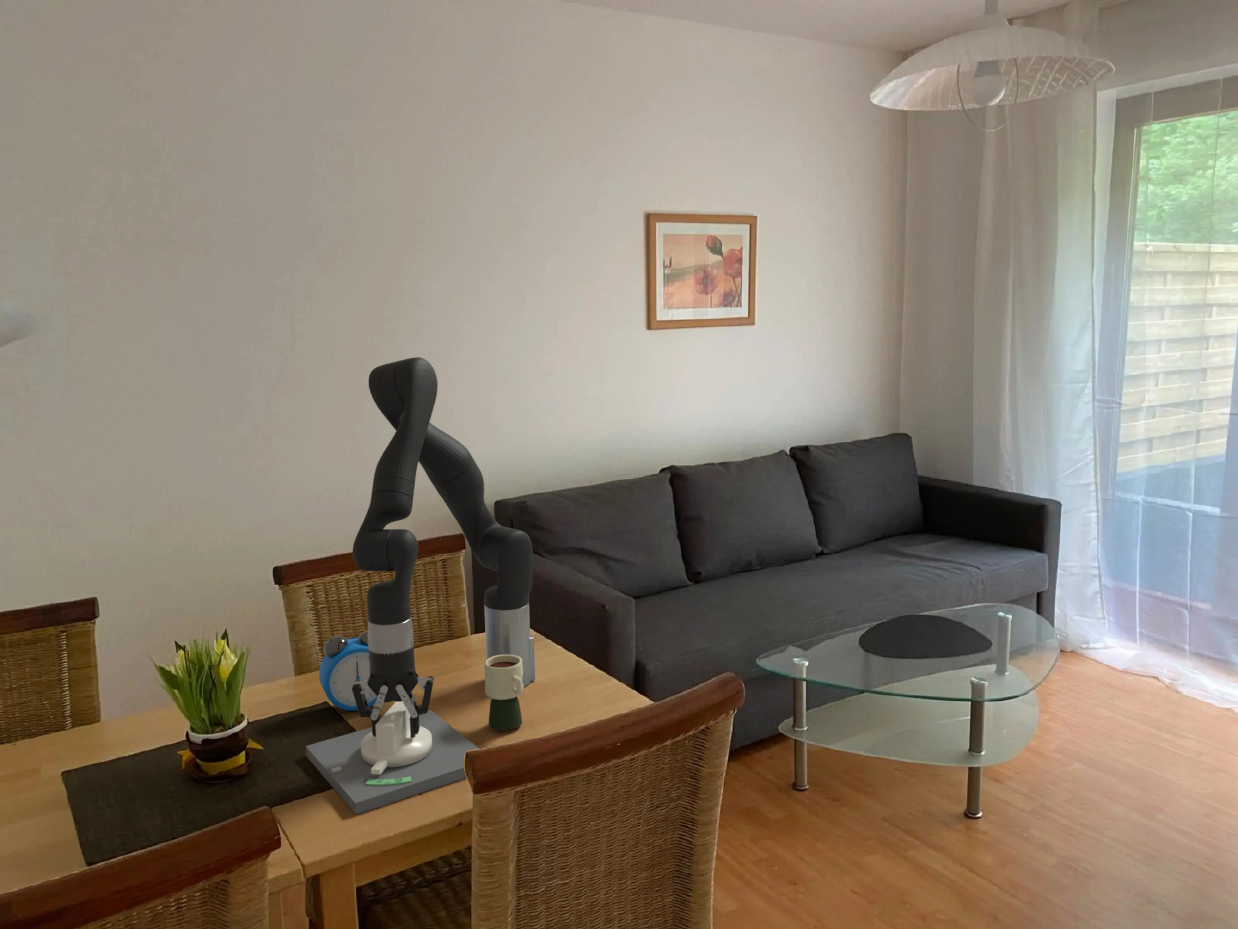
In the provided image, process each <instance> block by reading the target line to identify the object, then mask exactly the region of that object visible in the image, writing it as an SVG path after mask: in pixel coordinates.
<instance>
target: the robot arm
mask: <svg viewBox="0 0 1238 929" xmlns="http://www.w3.org/2000/svg"><path fill="white" fill-rule="evenodd" d="M367 381H368V389H369V392H370V395H371V398H372V399H373V400H372V401H374V403H375V406H377V408H378V410H379V411H380V413H381V414H382V415H383V416H384V418H385V419H386V420H387V421H388V423H389V424H390V425H391V426H392V428H393V429H394V430H395V433H394V435H393V436H392V438H391V439H390V441H389V443H388V444H387V446H386V448H384V451H383V452H382V454H381V456H380V457H379V460H378V462H377V465H376V467H375V471H374V474H373V481H372V487H371V488H372V489H371V495H370V502H369V505H368V509H367V511H366V514H365V517H364V519H363V520H362V523H361V525H360V528H359V529H358V532H357V534H356V536H355V538H354V541H353V546H352V559H353V561H354V563H355V566H356V567H357V568H358V569H359V570H361V571H364V572H395V573H394V578H393V579H391V580H386V581H383V582H379V583H375V584H373V585H371V586H370V587H369V588H368V590H367V593H366V603H367V614H368V615H367V617H368V618H367V619H368V621H367V622H368V624H367V625H368V626H367V631H368V640H367V643H368V648H369V664H370V676H369V679H368V680H364V681H360V680H356V681H355V682H354V684H353V687H352V691H353V695H354V698H355V701H356V704H357V708H358V711H357V712H358V714H359V716H360V717H361V718H368V719H370V720H371V727H372V734H373V736H374V737H376V726H375V725H376V724H377V723H378V722H379V720H380V719H381V718H382V714H380V712H381V709H382V707H383V704H384V703H391V702H396V701H397V702H402V701H403V703H404V705H405V707H406V708H407V710H408V712H409V714H410V735H411V738H415V735H416V734H418V732H419V728H420V726H419V715H421V714H426V713H427V712H428V711H429V709H430V708H429V707H430V703H431V698H432V692H433V687H434V681H435V678H434V677H433V676H431V675H429V676H427V677H422V676H419V674H418V672H416V662H415V661H416V660H415V644H414V643H415V642H414V628H413V627H414V626H413V622H412V617H411V615H412V614H411V596H410V595H411V586H412V581H413V580H412V579H413V574H414V569H415V567H416V566H415V565H416V562H417V558H418V554H419V543H418V539H417V537H416V536H415V534H414V533H413V532H412V531H411V530H409V529H406V528H405V529H403V528H398V529H397V528H396V529H395V528H393V529H391V528H390V529H388V528H387V529H385V528H386V526H388V525H389V524H391V523H394V522H399V521H403V520H404V519H405V520H406V519H408V518H409V517H410V515H411V514H412V511H413V502H414V495H415V486H416V478H417V471H418V465H420V466H421V467H422V469H423V470H424V472H425V474H426V476H427V478H428V479H429V481H430V483H431V484H432V485H433V487H434V488H435V489H434V490H436V492H437V493H438V495H439V496H440V498H441V499H442V500H443V502H444V503H445V504H446V505H445V506H447V508H448V510H449V511H450V513H451V515H452V516H453V517H454V519H455V520H456V522H457V523H458V525H459V527H460V529H461V531H462V534H463V535H464V538H465V540H466V541H467V544H468V545H469V547H470V550H471V551H472V554H473V555H474V557H475V559H476V560H477V562H478V563H479V565H481V566H482V567H483V568H485V569H489V570H490V571H495V572H497V585H493V586H490V587H489V588H487V589H486V590H485V591H484V596H483V602H484V603H483V604H484V628H485V630H484V631H485V653H486V654H485V655H486V660H487V659H488V658H490V657H493V656H497V655H515V656H518V657H520V658H521V659H522V667H523V677H522V683H523V686H524V687H526V686H528V685H529V684H531V681H532V682H534V681H536V665H535V663H536V662H535V660H536V659H535V639H534V638H535V637H533V636H532V635H531V629H530V627H531V626H530V624H531V622H530V594H531V590H532V588H533V566H534V549H533V544H532V540H531V537H530V536H529V535H528V534H527V533H526V532H525V531H523V530H520V529H515V528H511V527H507V526H502V525H501V524H499V523H498V522H497V520H496V519H495V518H494V516H493V515H492V514H491V512H490V510H489V508H488V507H487V504H486V502H485V481H484V477H483V473H482V472H481V469H480V467H479V465H478V464H477V462H476V460H475V459H474V458H473V455H472V454H471V453H470V450H469V449H468V448H467V447H466V446H465V445H464V444H462V443H461V442H460V441H459V440H458V439H456V438H455V437H453V436H451V435H450V434H448V433H447V432H445V431H444V430H441V429H440V428H439V427H437V426H435V425H434V424H433V423H431V418H432V415H433V413H434V412H433V411H434V409H435V404H436V401H437V396H438V382H439V381H438V377H437V373H436V370H435V369H434V366H433V365H432V364H431V363H430V362H429V360H427V359H426V358H423V357H420V356H419V357H418V356H417V357H409V358H408V357H407V358H405V359H401V360H397V361H393V362H390V363H384V364H382V365H379V366H376V367H375V368H373V369H372V370H371V371H370V373H369V375H368V380H367ZM486 660H485V661H486ZM417 685H418V686H420V687H419V688H420V690H421V692H423V698H422V703H421V704H418V703H417V701H416V700H415V695H414V693H413V691H414V689H415V688H416V686H417ZM368 686H369V687H370V689H371V690H372V691H373V692H374V693H375V694H376V695H377V700H376V702H375V704H374V705H373V707H372V706H371V707H369V706H368V703H367V700H366V696H365V693H366V690H367V687H368Z"/></svg>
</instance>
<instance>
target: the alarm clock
mask: <svg viewBox="0 0 1238 929" xmlns="http://www.w3.org/2000/svg"><path fill="white" fill-rule="evenodd" d="M367 640H368V630H364V631H363V632H361V633H360V634H359V635H358V638H357V636H356V635H355V636H350V638H348V639H347V638H346V637H345V636H342V635H335V636H332V637H330V638H329V639H328V640H327V641H326V642H325V644H324V646H323V653H324V657H323V658H322V660H321V662H320V666H319V668H318V669H319V671H318V677H319V683H320V685H321V688H322V689H323V691H324V693H325V696H326V697H327V699H328V701H329V702H331V704H332V705H334V706H335V707H337V708H339V709H341V713H340V714H344V712H345V711H349V712H359V711H358V708H357V704H356V701H355V698H354V695H353V691H352V687H353V684H354V682H355V681H356V680H360V681H364V680H368V679H369V676H370V664H369V648H368V643H367ZM365 696H366V700H367V703H368V706H369V707H371V708H372V706H373V707H374V705H375V702H376V700H377V695H376V694H375V693H374V692H373V691H372V690H371V689H370V687H369V686H368V687H367V690H366V693H365Z"/></svg>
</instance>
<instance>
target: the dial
mask: <svg viewBox="0 0 1238 929" xmlns="http://www.w3.org/2000/svg"><path fill="white" fill-rule="evenodd" d="M375 726H376V737H374V736H373V734H372V732H371V733H369V734H367V735H366V736H365V737H364V738H363V739H362V741H361V756H362V759H363V760H364V761H365V762H366V763H368V764H370V765H373V767H372V769H371V774H379V775H380V774H381V773H382V772H383V771H384V769H385V768H386V767H399V766H405V765H409V764H412V763H415V762H417V761H420V760H422V759H423V758H425V757H426V756H427V755H428V754H429V753H430V752H431V750H432V735H431V733H430V731H429V730H427V729H426V728H424V727H421V726H420V728H419V732H418V734H416V735H415V738H411V735H410V714H409V712H408V710H407V708H406V707H405V705H404V703H403V701H402V702H397V701H394V703H393V705H391V707H390V708H389V709H388V710H387V711H386V712H385V714H383V716H381V719H380V720H379V722H378V723H377V724H376V725H375Z"/></svg>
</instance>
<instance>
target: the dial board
mask: <svg viewBox="0 0 1238 929" xmlns="http://www.w3.org/2000/svg"><path fill="white" fill-rule="evenodd" d="M419 726H421V727H424V728H426V729H427V730H429V731H430V733H431V735H432V750H431V752H430V753H429V754H428V755H427V756H426V757H425V758H423V759H422V760H420V761H417V762H415V763H412V764H409V765H405V766H399V767H386V768H385V769H384V771H383V772H382V773H381V774H380V775H379V774H371V769H372V767H373V765H370V764H368V763H366V762H365V761H364V760H363V759H362V756H361V741H362V739H363V738H364V737H365V736H366V735H367V734H369V733H371V732H372V726H371V727H367V728H364V729H361V730H360V729H359V730H358V731H354V732H349V733H346V734H343V735H340V736H336V737H332V738H328V739H326V740H325V739H324V740H322V741H318V742H315V743H312V744H309V745H305V752H306V753H305V754H306V755H305V756H306V758H307V759H308V760H309V761H310V762H311V764H312V765H313V766H314V767H315V768H316V769H317V770H318V772H319V771H320V772H319V773H320V774H321V775H322V776H323V778H324V779H325V780H326V781H327V783H329V785H330V786H331V787H332V788H333V789H334V790H335V792H336V793H337V794H338V795H339V796H340V798H342V800H343V801H344V803H345V804H346V805H348V807H349V808H350V809H351V811H352V812H353V814H355V815H360V814H362V813H367V812H369V811H371V810H375V809H378V808H381V807H384V806H387V805H389V804H392V803H395V802H398V801H402V800H404V799H408V798H411V797H414V796H416V795H420V794H422V793H426V792H429V791H432V790H434V789H437V788H440V787H442V786H446V785H449V784H453V783H455V782H459V781H461V780H464V779H467V778H466V775H465V771H464V755H465V754H466V751H468V750H473V749H480V748H479V747H478V746H477V745H476V744H475V743H473V742H471V741H470V740H469V739H468V738H467V737H465V736H464V735H463V734H462V733H460V732H459V731H458V730H456V729H455V728H454V727H453V726H451V725H450V724H449V723H448V722H446V720H444V719H443V718H442V717H440V716H439V715H438V714H436V713H435V712H434V711H432V710H428V712H427V713H426V714H421V715H419Z"/></svg>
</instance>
